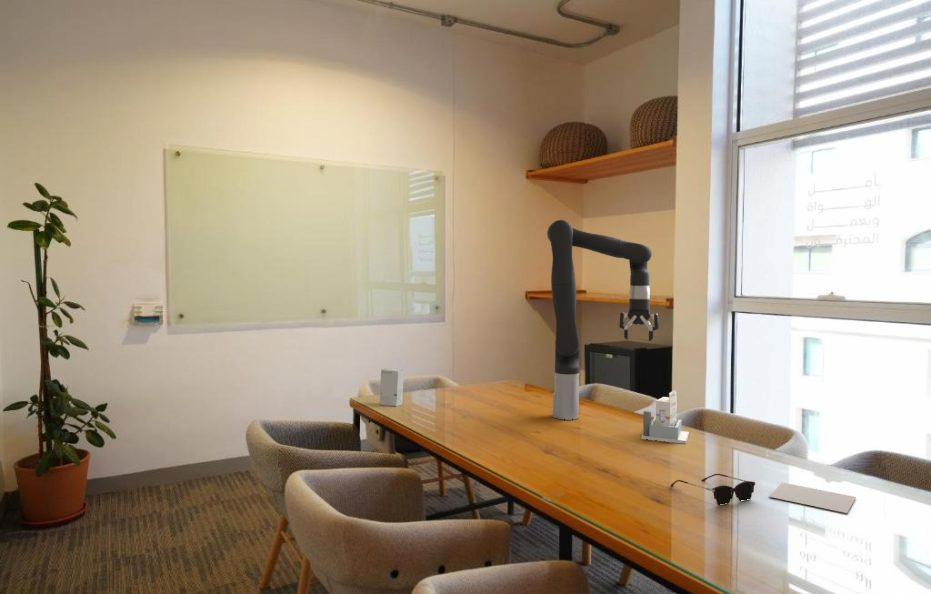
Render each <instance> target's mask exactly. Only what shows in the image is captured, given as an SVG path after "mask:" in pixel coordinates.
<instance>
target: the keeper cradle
mask: <svg viewBox="0 0 931 594" xmlns="http://www.w3.org/2000/svg"><path fill="white" fill-rule="evenodd" d="M642 418H643V419H642V421H643V422H642V425H643V427H642V434H641V440H646V439H648V440H649V441H655V440H657V442H664V441H665V442H666V443H673V442H674V443H675V444H676V443H677V444H681V445H682V444H684V445H686V444H687V442H688V441H687V440H688V438H689V435H690V431H684V430H682V422H683V421H682V419H680V418H679V419H677V421H676V426H675V427H672V426H662V425H656V416H654V418H653V419H652V412H651V411H649V410H644V411H643V417H642ZM674 443H673V444H674Z"/></svg>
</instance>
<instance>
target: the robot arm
mask: <svg viewBox="0 0 931 594" xmlns="http://www.w3.org/2000/svg"><path fill="white" fill-rule="evenodd" d="M546 235H547V239H548V241H549V242H550V246H551V256H552V263H551V264H552V265H551V272H550V273H551V276H550V284H551V297H552V305H553V310H554V315H555V327H556V328H555V341H554V344H555V348H554V349H555V350H554V392H553V393H552V418H553V417H554V419H558V420H564V419H565V420H566V421H567V420H568V421H570V420H571V421H573V420H577V418H578V419H579V413H580V412H579V404H580V401H579V400H580V345H581V343H580V342H581V341H580V338H579V334H578V328H577V322H576V321H577V320H576V318H577V317H576V316H577V315H576V314H577V284H576V283H577V281H576V274H575V272H576V271H575V266H574V260H573V259H574V258H573V247H574V248H575V247H577V248H581V249H585V250H588V251H592V252H595V253H598V254H602V255H605V256H609V257H613V258H616V259H624V260H628V262H629V269H630V270H629V272H630V276H629V277H630V278H629V281H630V282H629V284H630V285H629V293H628V294H629V298H628V302H629V303H628V312H620V315H619V323H618V324H619V326H618V327H619V328H620V329H622V330H623V331H624V333H623V337H624V339H625V340H626V341H629V338H630V335H629V331H630V330H629V329H630V327H631V326H632V325H633V324H634V325H645V326H646V327H647V329H648V330H649V331H648V342H652V340H653V339H654V332H655V331H656V330H658V329H659V327H660V326H659V325H660V324H659V314H658V312H657V313H651V312H650V309H651V307H650V306H651V305H650V301H651V290H650V272H649V270H648V262H649V261H650V260H651V258H652V249H651V248H650V247H649V246H647V245H645V244H642V243H637V242H632V241H626V240H623V239H620V238H617V237H612V236H608V235H604V234H603V235H602V234H597V233H593V232H592V233H591V232H586V231H583V230H580V229H579V230H578V229H576V228H574V227H572V225H571V224H570V223H569V222H568V221H566V220H565V219H564V220H563V219H558V220H557V219H556V220H555V221H554V222H552V223H550V225H549V226H548V228H547V231H546ZM627 317H628V319H629V321H628V322H627V323H626V325H625V319H626V318H627ZM650 318H651V319H652V320H653V321H654V322H653V323H654V326H652V324H651V322H650V321H649V319H650ZM572 419H573V420H572Z"/></svg>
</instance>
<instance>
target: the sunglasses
mask: <svg viewBox="0 0 931 594" xmlns="http://www.w3.org/2000/svg"><path fill="white" fill-rule="evenodd" d="M715 476H721V477H726V478H728V479H733V480H737V481H741V482H740V483H739V482H738V484H736V485H735V486H734V487H732V486H729V485H725V484H723V485H718V486H715V487H712V488H710V487H704V486H702V485H697V484H695V483H691V482H688V481H685V480H682V479H676V480H675V481H673V482H672V483H671V484H670V487H674V485H675V484H676V483H678V482H680V483H683V484H686V485H690V486H694V487H697V488H701V489H704V490H707V491H710V492H712V493H713V498H714V499H715V503H716V504H717V506H718V505H720V504H725V503H729V504H730V502H731V500H732V499H733V496H734V494H735V497H736V498H737V499H738V501H739V502H740V501H741V500H747V499H750V500H752V496H753V494H754V491H755V486H756V481H750V480H746V479H745V480H744V479H742V478H738V477H733V476H729V475H726V474H722V473H713V474H712V475H709V476H707V477H704V478H703V479H701V482H705V481H707V480H708V479H710V478H712V477H715ZM714 499H713V500H714Z"/></svg>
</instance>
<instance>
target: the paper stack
mask: <svg viewBox="0 0 931 594" xmlns="http://www.w3.org/2000/svg"><path fill="white" fill-rule="evenodd" d="M769 497H770V498H774V499H779V500H783V501H787V502H793V503H797V504H802V505H808V506H812V507H816V508H821V509H826V510H831V511H835V512H840V513H844V514H848V513H849V512H850V509H851V507H852V505H853V504H854V502H855V500H856V496H853V495H847V494H843V493H837V492H833V491H828V490H822V489H818V488H814V487H808V486H802V485H798V484H797V485H796V484H792V483H786V482H781V483H780V484H779V485H778V486H777V487H776V488H775V489H774V490H773V492H771V494H770V495H768V498H769Z"/></svg>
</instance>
